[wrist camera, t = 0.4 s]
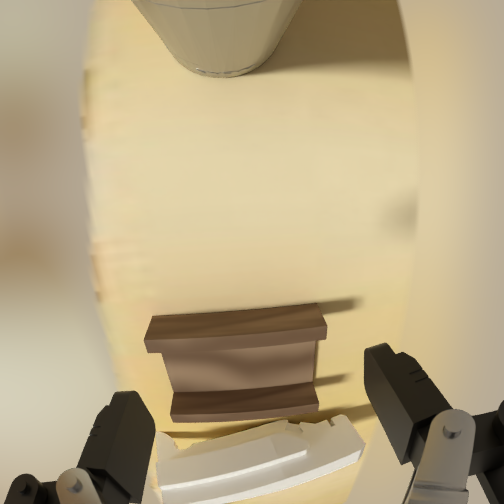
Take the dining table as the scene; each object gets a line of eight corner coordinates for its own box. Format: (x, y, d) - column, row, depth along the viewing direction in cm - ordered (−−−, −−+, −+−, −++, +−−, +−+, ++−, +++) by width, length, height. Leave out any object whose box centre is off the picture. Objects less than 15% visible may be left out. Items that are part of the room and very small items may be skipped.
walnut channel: (152, 316, 29) (143, 339, 25) (316, 303, 29) (327, 325, 26) (176, 398, 33) (173, 422, 29) (310, 387, 34) (317, 411, 30)
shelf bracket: (151, 422, 35) (157, 500, 24) (325, 379, 40) (369, 442, 29) (162, 443, 37) (172, 515, 26) (323, 403, 42) (361, 462, 31)
